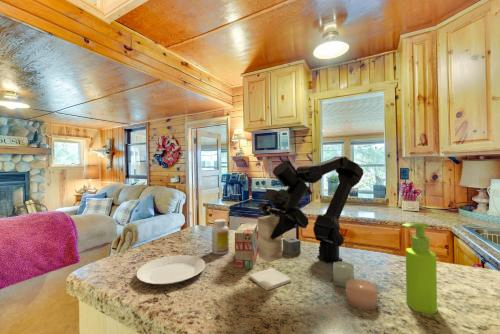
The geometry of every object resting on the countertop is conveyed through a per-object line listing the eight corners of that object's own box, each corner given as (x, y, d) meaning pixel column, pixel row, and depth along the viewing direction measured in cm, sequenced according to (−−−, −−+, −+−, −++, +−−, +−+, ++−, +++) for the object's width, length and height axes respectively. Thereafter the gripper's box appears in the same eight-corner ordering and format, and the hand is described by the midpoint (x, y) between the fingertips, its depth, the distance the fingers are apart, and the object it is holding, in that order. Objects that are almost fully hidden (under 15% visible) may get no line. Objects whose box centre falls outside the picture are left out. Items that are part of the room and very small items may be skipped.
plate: (175, 257, 88) (175, 251, 88) (218, 268, 77) (218, 262, 77) (122, 280, 70) (122, 272, 70) (167, 299, 59) (167, 291, 59)
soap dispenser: (396, 300, 57) (395, 220, 58) (422, 298, 58) (421, 219, 58) (415, 315, 52) (414, 226, 52) (443, 313, 52) (442, 225, 52)
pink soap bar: (360, 291, 62) (360, 277, 62) (383, 306, 55) (383, 289, 55) (340, 297, 59) (339, 282, 59) (362, 313, 53) (362, 295, 53)
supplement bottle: (232, 251, 93) (231, 219, 93) (221, 256, 87) (221, 223, 87) (219, 248, 96) (219, 217, 96) (208, 253, 91) (208, 221, 91)
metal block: (271, 253, 72) (270, 215, 72) (281, 258, 68) (281, 218, 68) (258, 256, 69) (257, 217, 69) (268, 262, 65) (267, 220, 65)
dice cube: (300, 253, 90) (300, 240, 90) (289, 255, 88) (289, 242, 88) (293, 249, 94) (293, 237, 94) (282, 251, 92) (282, 238, 92)
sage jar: (343, 276, 70) (343, 260, 70) (358, 285, 65) (358, 267, 65) (329, 280, 68) (328, 263, 68) (343, 289, 63) (343, 271, 63)
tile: (272, 270, 75) (272, 267, 75) (291, 281, 67) (291, 278, 67) (249, 277, 70) (249, 274, 70) (266, 290, 63) (266, 287, 63)
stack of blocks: (246, 246, 98) (245, 218, 98) (260, 247, 97) (260, 218, 97) (234, 268, 77) (234, 232, 77) (253, 269, 76) (252, 232, 76)
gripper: (261, 178, 79) (233, 214, 73) (300, 180, 63) (269, 226, 57) (279, 199, 83) (254, 234, 77) (320, 206, 67) (293, 251, 61)
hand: (266, 236), depth 68 cm, fingers closed on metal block, 5 cm apart
